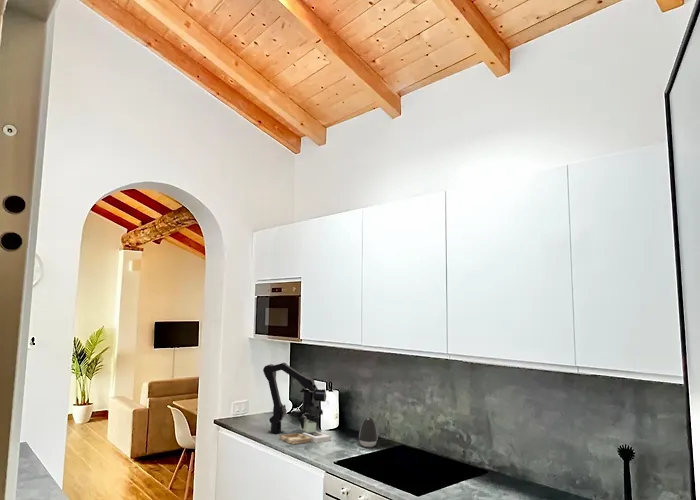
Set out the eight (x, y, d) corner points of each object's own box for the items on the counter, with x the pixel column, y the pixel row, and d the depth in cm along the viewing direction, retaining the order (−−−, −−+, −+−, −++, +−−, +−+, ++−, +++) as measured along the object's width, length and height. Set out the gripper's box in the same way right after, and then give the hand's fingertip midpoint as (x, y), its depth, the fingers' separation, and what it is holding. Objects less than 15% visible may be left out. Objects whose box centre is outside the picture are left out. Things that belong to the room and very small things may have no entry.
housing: (301, 437, 291) (302, 432, 291) (315, 435, 297) (316, 430, 297) (316, 443, 280) (316, 438, 280) (330, 440, 286) (330, 436, 287)
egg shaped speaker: (379, 444, 282) (380, 416, 284) (375, 449, 272) (376, 420, 274) (361, 442, 285) (362, 414, 287) (356, 447, 275) (357, 418, 277)
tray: (279, 439, 285) (279, 435, 285) (297, 436, 293) (297, 432, 293) (293, 444, 274) (293, 441, 274) (311, 442, 282) (311, 438, 282)
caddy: (296, 428, 300) (297, 415, 301) (304, 427, 303) (304, 414, 304) (308, 432, 290) (309, 419, 291) (315, 431, 293) (316, 419, 294)
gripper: (302, 404, 287) (300, 432, 285) (329, 401, 298) (327, 429, 296) (291, 400, 295) (290, 428, 293) (317, 398, 307) (316, 425, 305)
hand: (306, 428), depth 297 cm, fingers closed on caddy, 5 cm apart
